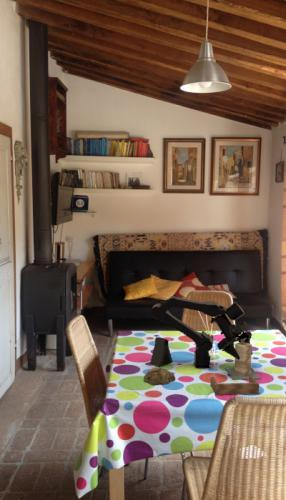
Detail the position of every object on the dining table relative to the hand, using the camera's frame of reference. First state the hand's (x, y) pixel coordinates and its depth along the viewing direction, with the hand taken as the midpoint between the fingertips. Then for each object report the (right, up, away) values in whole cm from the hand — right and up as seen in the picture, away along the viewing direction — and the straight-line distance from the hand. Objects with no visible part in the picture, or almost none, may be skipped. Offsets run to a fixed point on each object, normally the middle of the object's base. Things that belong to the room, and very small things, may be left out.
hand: (245, 356), depth 190 cm
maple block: (-1, -7, +2) cm, 8 cm away
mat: (-1, -8, +2) cm, 8 cm away
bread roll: (-38, -9, -4) cm, 39 cm away
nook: (-8, -10, -14) cm, 19 cm away
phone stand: (-36, -7, +15) cm, 39 cm away
